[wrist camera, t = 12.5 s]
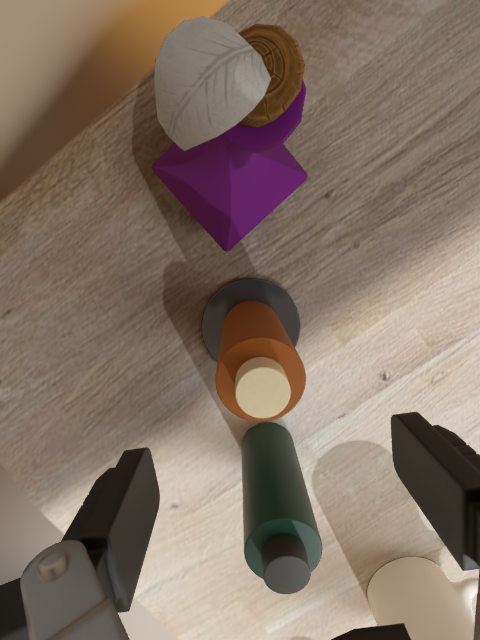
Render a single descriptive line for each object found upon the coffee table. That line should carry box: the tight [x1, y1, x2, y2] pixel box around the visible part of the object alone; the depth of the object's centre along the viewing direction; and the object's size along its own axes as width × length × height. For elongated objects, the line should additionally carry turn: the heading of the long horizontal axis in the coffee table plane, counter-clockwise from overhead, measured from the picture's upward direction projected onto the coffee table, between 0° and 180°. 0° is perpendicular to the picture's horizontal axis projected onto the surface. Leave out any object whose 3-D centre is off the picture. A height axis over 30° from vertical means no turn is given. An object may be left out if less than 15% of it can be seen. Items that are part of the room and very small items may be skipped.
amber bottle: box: [216, 301, 306, 422], centre depth 23 cm, size 5×5×12 cm
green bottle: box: [242, 423, 322, 594], centre depth 25 cm, size 5×5×12 cm
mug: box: [367, 557, 479, 640], centre depth 30 cm, size 12×8×10 cm
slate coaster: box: [202, 278, 300, 362], centre depth 29 cm, size 8×8×1 cm
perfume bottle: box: [152, 16, 308, 252], centre depth 18 cm, size 8×8×18 cm
